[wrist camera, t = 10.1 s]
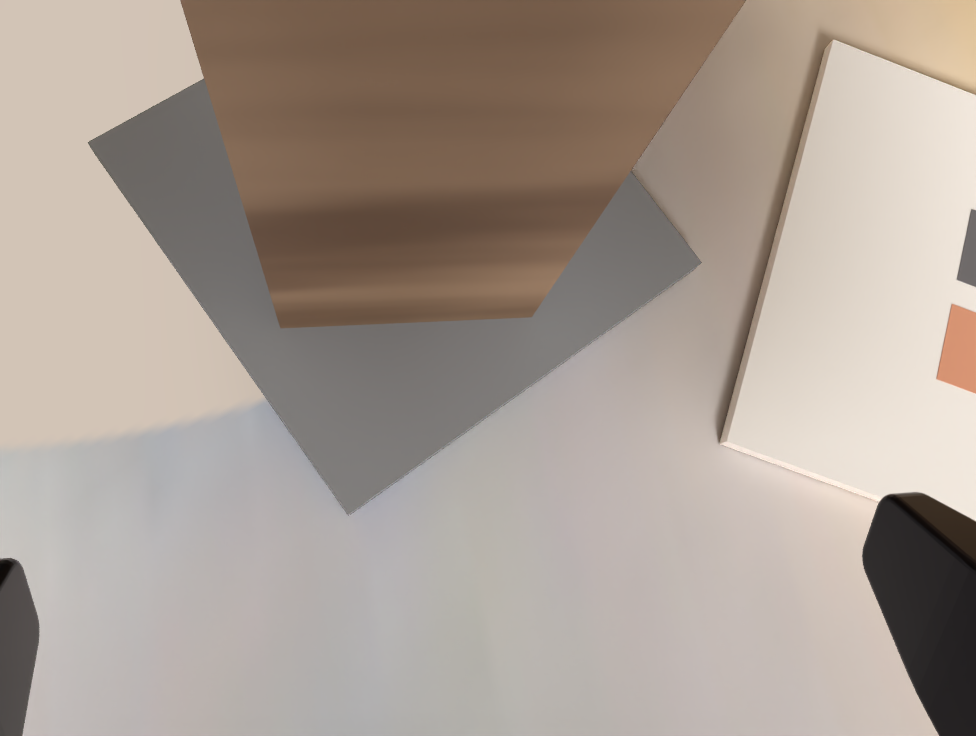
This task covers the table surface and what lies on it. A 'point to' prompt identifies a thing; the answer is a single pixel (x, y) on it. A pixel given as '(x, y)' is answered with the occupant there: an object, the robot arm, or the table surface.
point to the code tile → (871, 292)
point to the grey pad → (376, 347)
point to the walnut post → (436, 140)
